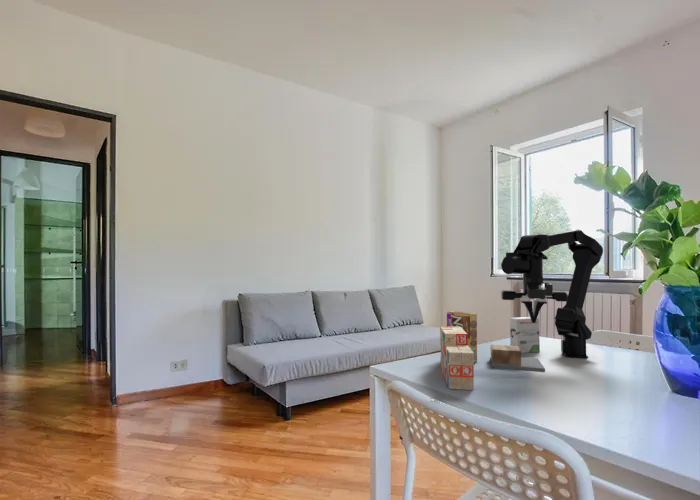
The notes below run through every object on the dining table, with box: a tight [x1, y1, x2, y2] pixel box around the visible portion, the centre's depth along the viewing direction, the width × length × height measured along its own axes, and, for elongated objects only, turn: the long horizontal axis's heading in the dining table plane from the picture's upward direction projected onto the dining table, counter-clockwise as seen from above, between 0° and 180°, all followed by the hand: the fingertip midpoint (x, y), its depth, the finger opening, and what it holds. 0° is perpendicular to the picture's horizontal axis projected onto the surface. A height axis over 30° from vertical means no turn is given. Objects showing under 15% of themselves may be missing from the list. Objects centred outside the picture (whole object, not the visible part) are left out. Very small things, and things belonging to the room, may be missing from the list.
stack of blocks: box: [439, 326, 475, 391], centre depth 105 cm, size 21×6×12 cm, turn 172°
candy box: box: [446, 310, 478, 364], centre depth 122 cm, size 9×4×15 cm, turn 39°
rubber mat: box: [490, 356, 546, 372], centre depth 117 cm, size 14×12×1 cm
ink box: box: [509, 316, 541, 354], centre depth 134 cm, size 9×5×12 cm, turn 99°
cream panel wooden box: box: [490, 344, 522, 365], centre depth 118 cm, size 4×7×8 cm
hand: (533, 322), depth 122 cm, fingers closed
